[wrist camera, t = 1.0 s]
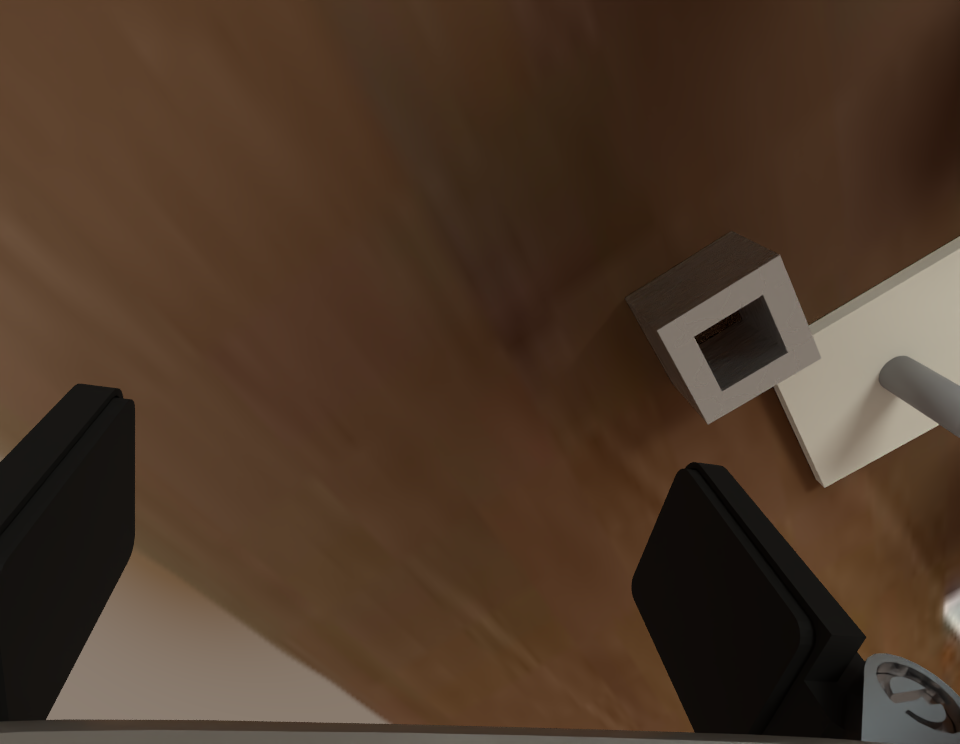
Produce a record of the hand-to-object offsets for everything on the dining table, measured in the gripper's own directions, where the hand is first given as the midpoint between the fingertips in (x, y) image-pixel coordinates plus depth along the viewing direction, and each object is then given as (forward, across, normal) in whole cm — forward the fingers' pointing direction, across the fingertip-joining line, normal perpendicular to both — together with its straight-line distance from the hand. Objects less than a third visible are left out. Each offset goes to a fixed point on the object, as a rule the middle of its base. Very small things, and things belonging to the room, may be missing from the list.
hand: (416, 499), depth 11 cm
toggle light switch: (+25, -33, +4) cm, 41 cm away
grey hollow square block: (+25, -19, +3) cm, 31 cm away
